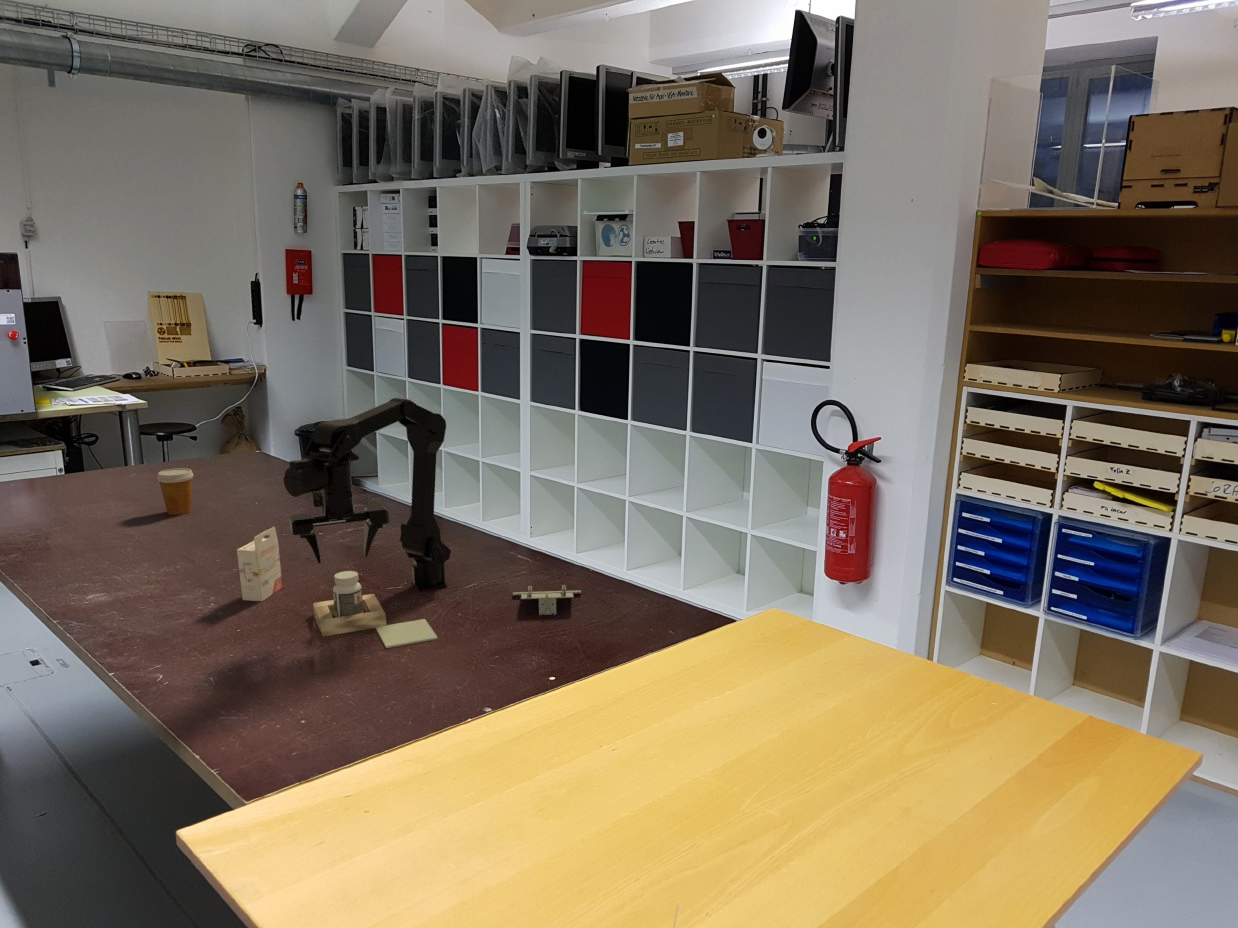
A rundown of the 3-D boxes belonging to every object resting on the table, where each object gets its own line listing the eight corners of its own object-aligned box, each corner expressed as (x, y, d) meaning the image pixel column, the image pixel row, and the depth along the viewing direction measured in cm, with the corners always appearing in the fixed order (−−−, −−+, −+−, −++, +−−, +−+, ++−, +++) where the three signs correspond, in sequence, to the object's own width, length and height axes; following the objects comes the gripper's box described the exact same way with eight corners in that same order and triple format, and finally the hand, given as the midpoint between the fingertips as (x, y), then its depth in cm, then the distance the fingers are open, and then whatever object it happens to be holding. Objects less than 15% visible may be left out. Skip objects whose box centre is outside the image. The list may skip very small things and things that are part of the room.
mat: (425, 620, 191) (425, 618, 191) (437, 638, 182) (437, 637, 182) (375, 628, 187) (375, 627, 187) (386, 648, 178) (386, 646, 178)
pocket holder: (374, 604, 200) (373, 593, 199) (386, 625, 189) (385, 614, 188) (313, 614, 195) (313, 602, 194) (322, 636, 184) (321, 624, 183)
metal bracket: (583, 587, 194) (511, 590, 193) (583, 615, 194) (511, 618, 193) (580, 582, 209) (512, 584, 207) (580, 608, 208) (513, 610, 207)
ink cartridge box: (263, 586, 210) (257, 524, 207) (283, 588, 209) (277, 525, 206) (240, 600, 202) (234, 535, 199) (261, 602, 201) (255, 537, 198)
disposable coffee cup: (204, 510, 269) (200, 470, 266) (173, 518, 261) (169, 477, 258) (184, 505, 274) (180, 466, 271) (154, 513, 266) (149, 472, 263)
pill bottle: (369, 616, 193) (366, 571, 191) (353, 627, 188) (349, 580, 186) (346, 613, 195) (342, 568, 193) (329, 623, 190) (325, 577, 188)
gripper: (376, 471, 196) (381, 541, 200) (283, 481, 189) (290, 554, 192) (387, 483, 186) (391, 557, 190) (289, 494, 179) (296, 571, 182)
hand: (342, 559), depth 189 cm, fingers open, 9 cm apart
